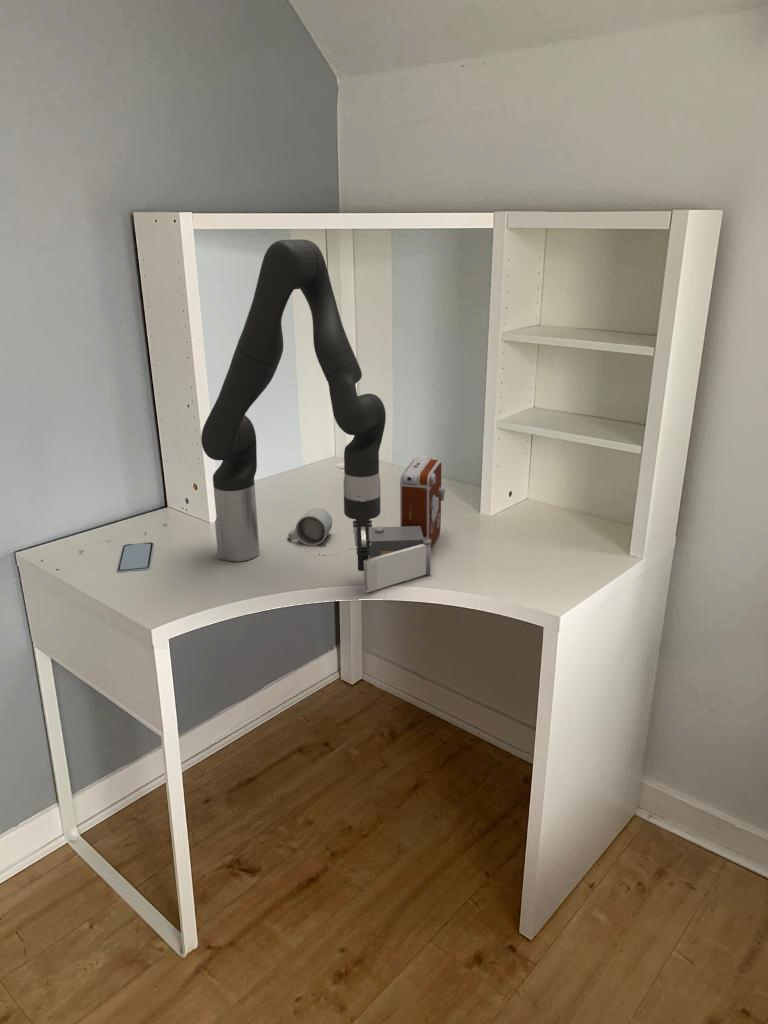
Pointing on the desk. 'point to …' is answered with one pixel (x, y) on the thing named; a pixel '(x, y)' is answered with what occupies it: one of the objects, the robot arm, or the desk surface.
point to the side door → (397, 567)
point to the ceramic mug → (312, 527)
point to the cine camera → (422, 496)
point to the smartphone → (136, 557)
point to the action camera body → (395, 539)
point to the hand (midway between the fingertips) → (363, 569)
